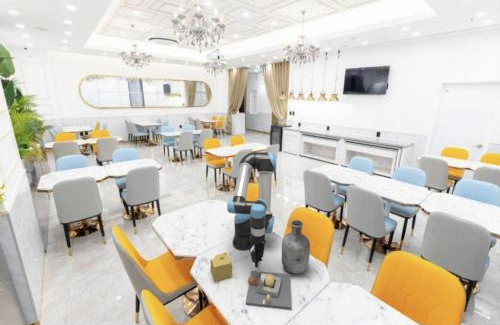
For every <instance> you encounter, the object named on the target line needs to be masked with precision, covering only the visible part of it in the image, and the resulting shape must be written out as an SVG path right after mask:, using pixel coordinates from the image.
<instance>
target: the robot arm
mask: <svg viewBox="0 0 500 325" xmlns="http://www.w3.org/2000/svg"><path fill="white" fill-rule="evenodd" d="M275 155H276V154H275V153H274V152H269V151H267V152H265V151H263V152H262V151H261V152H260V151H258V152H257V151H251V152H248V153H246V154H245V155H243V157H242V158H241V159H240V161H239V163H238V165H237V166H238V167H237V168H238V174H237V179H236V183H235V188H234V191H233V197H232V199H229V200H228V201H227V206H226V207H227V208H226V209H227V212H228V214H235V215H234V220H233V221H234V235H233V238H232V246H233V248H234V249H235V250H238V251H248V252H249V253H250V258H251V262H252V263H254V271H257V272H260V271H261V263H262V262H263V259H262V258H264V255H265V254H264V253H265V247H266V242H267V240H266V234H271V233H273V229H274V228H273V227H274V224H275V223H274V222H275V218H276V217H275V216H274V215H273V212H272V211H271V208H272V207H271V204H272V180H273V179H272V175H273V174H274V173H275V171H276V170H277V163H276V162H277V161H276V156H275ZM253 170H256V172H257V173H258V194H257V199H256V200H255V201H254V200H246V199H247V194H248V189H249V182H250V178H251V173H252V172H253Z"/></svg>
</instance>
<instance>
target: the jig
mask: <svg viewBox="0 0 500 325" xmlns="http://www.w3.org/2000/svg"><path fill="white" fill-rule="evenodd" d="M262 273H263V274H267V275H266V276H265V284H264V286H265V287H270V288H274V287H275V284H274V276H276V277H281V278H282V282H281V286H280V290H279V294H278V298H277V297H273V296H270V295H269V294H268V295H265V294H261V293H257V286H255V285H251V284H248V289H247V292H246V299H245V306H251V307H252V306H253V307H261V308H269V309H280V310H287V311H288V310H289V311H292V293H291V292H292V290H291V288H292V287H291V274H290V273H282V272H281V273H280V272H271V271H262V270H260V272H257V271H255V270H251V271H250V276H251V277H255V278H259V279H260V278H261V275H262Z"/></svg>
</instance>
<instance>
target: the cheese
mask: <svg viewBox="0 0 500 325" xmlns="http://www.w3.org/2000/svg"><path fill="white" fill-rule="evenodd" d="M210 271H211V273H212V277H213V281H214V282H219V281H223V280H226V279H230V278H232V276H233V264H232V261H231V259H230V257H229V255H228V253H227V252H223V253H219V254H215V256H214V258H212V259H210Z"/></svg>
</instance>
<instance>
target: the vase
mask: <svg viewBox="0 0 500 325" xmlns="http://www.w3.org/2000/svg"><path fill="white" fill-rule="evenodd" d="M290 226H291V232H289V233H286V234H285V235H284V236H283V238H282V241H281V263H282V266H283V268H284V269H285V270H286V271H288V272H289V273H294V274H300V273H303V272H305V271H306V270H307V269H308V266H309V263H310V254H311V252H310V251H311V250H310V249H311V244H310V240H309V238H308V236H306V235H305V234H304V233H302V228H303V226H304V223H303V221H301V220H298V219H297V220H296V219H295V220H292V221H291V222H290Z"/></svg>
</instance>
